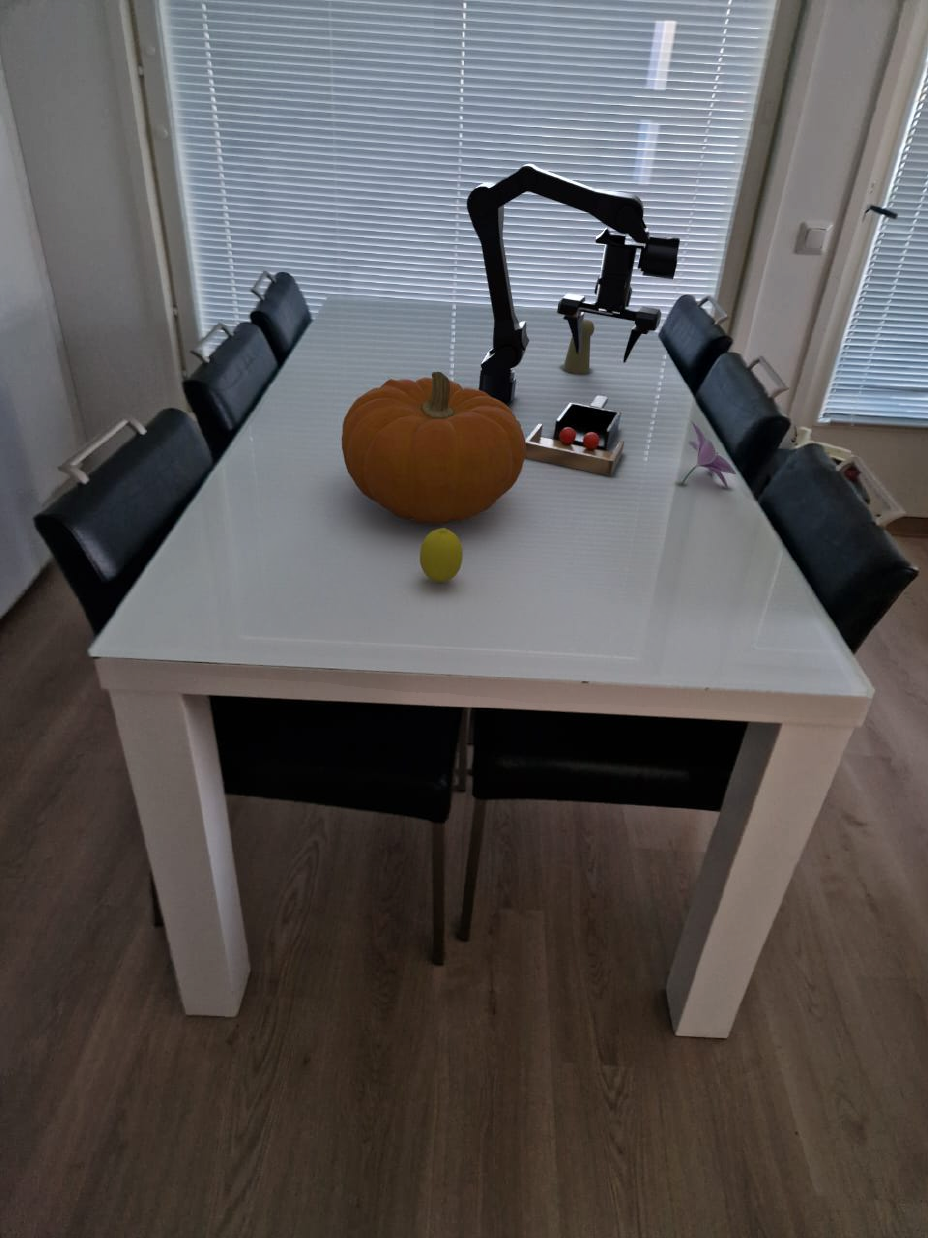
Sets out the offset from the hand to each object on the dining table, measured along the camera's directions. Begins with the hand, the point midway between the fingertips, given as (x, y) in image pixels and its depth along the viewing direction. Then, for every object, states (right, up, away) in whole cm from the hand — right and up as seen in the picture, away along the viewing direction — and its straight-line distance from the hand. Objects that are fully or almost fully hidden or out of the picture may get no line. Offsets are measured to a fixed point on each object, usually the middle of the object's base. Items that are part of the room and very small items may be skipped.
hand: (601, 357), depth 159 cm
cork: (-1, +7, +30) cm, 31 cm away
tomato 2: (-3, -18, -10) cm, 21 cm away
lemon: (-30, -46, -50) cm, 74 cm away
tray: (-7, -21, -12) cm, 25 cm away
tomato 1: (-8, -17, -9) cm, 21 cm away
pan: (-2, -14, 0) cm, 14 cm away
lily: (+15, -27, -17) cm, 35 cm away
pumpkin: (-32, -32, -30) cm, 54 cm away
